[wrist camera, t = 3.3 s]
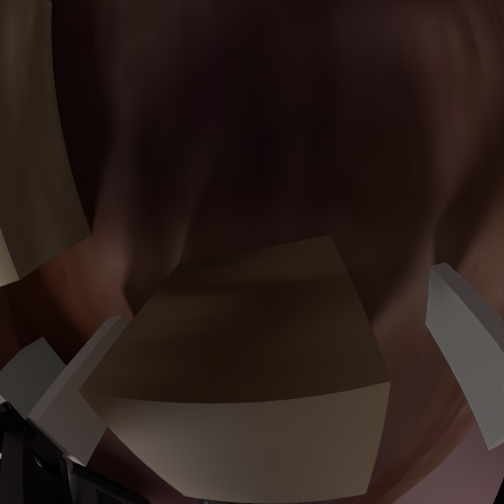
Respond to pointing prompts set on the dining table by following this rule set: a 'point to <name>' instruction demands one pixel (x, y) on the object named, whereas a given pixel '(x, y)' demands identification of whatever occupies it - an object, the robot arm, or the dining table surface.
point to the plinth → (32, 147)
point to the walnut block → (250, 378)
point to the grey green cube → (29, 376)
